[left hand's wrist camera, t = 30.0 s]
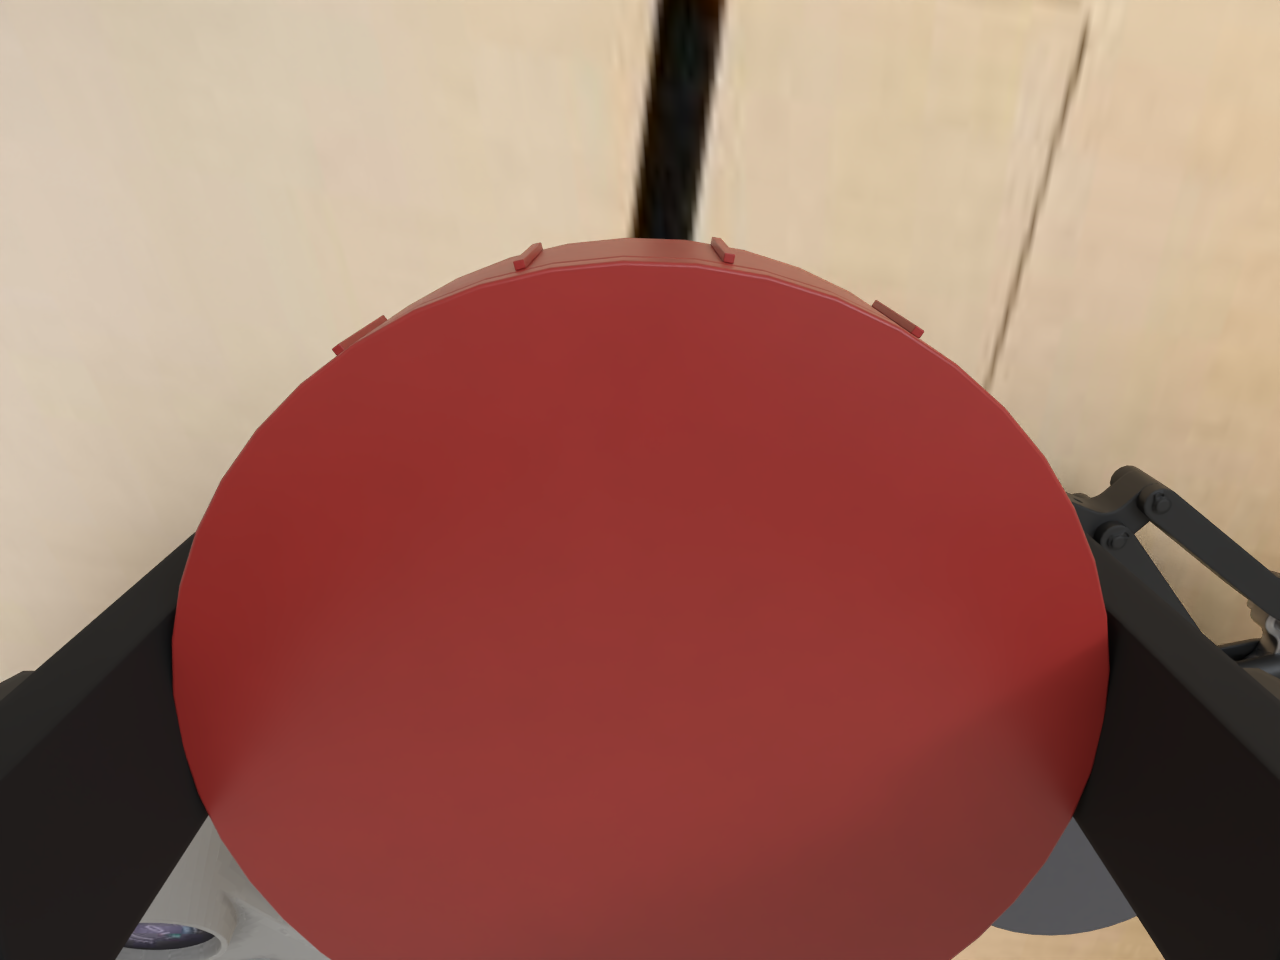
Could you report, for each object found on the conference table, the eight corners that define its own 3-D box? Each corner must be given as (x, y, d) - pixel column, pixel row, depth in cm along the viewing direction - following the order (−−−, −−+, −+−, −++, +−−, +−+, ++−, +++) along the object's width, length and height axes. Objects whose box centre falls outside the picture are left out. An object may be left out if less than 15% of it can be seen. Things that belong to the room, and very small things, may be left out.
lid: (104, 645, 12) (-9, 750, 10) (619, 29, 10) (612, -5, 7) (653, 1020, 15) (656, 1168, 13) (1184, 616, 12) (1300, 717, 10)
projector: (34, 833, 46) (-226, 1128, 32) (152, 455, 38) (-118, 628, 25) (436, 973, 49) (357, 1294, 35) (614, 651, 42) (602, 897, 28)
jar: (1044, 595, 41) (1288, 865, 26) (860, 683, 43) (984, 986, 27) (964, 427, 38) (1184, 618, 23) (769, 528, 40) (852, 770, 24)
